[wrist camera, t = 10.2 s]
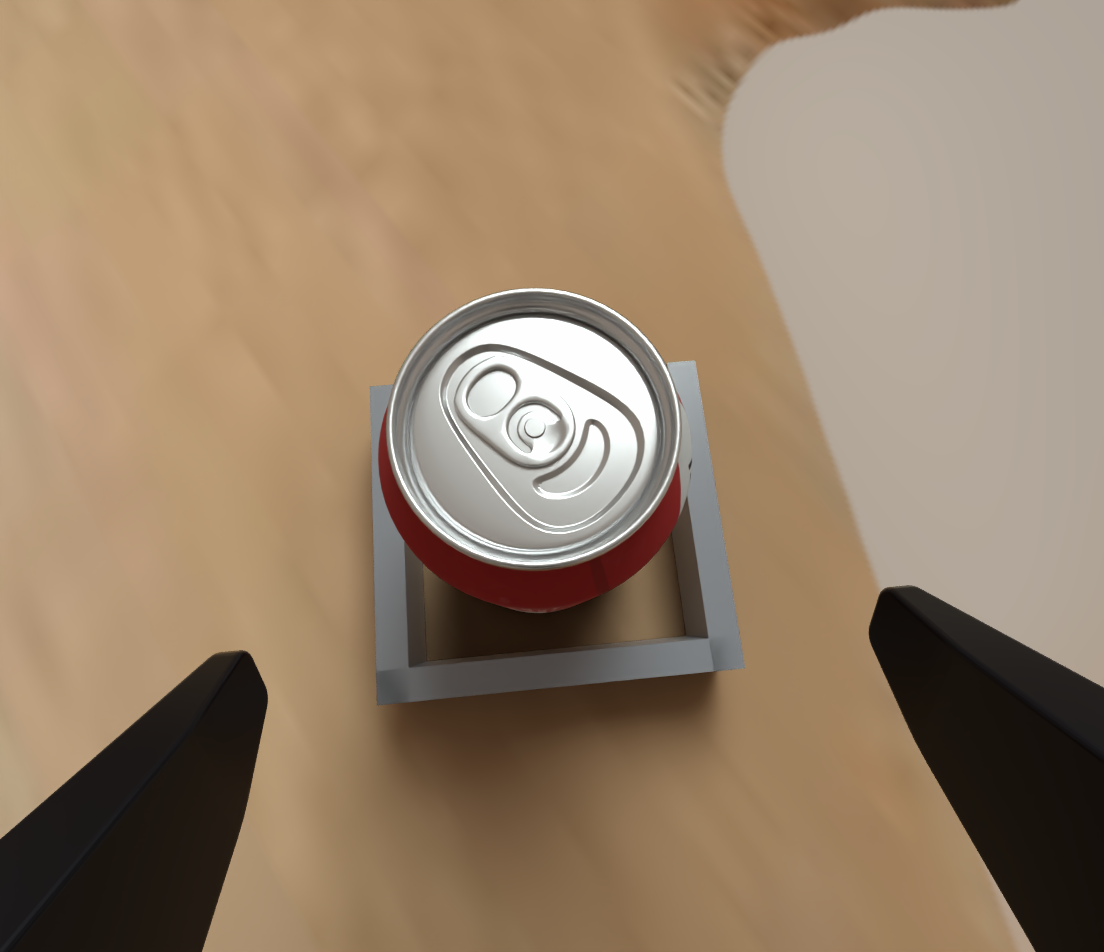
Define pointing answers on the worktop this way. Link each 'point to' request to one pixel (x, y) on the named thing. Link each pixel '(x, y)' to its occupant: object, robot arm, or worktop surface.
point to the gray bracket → (699, 651)
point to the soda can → (534, 449)
